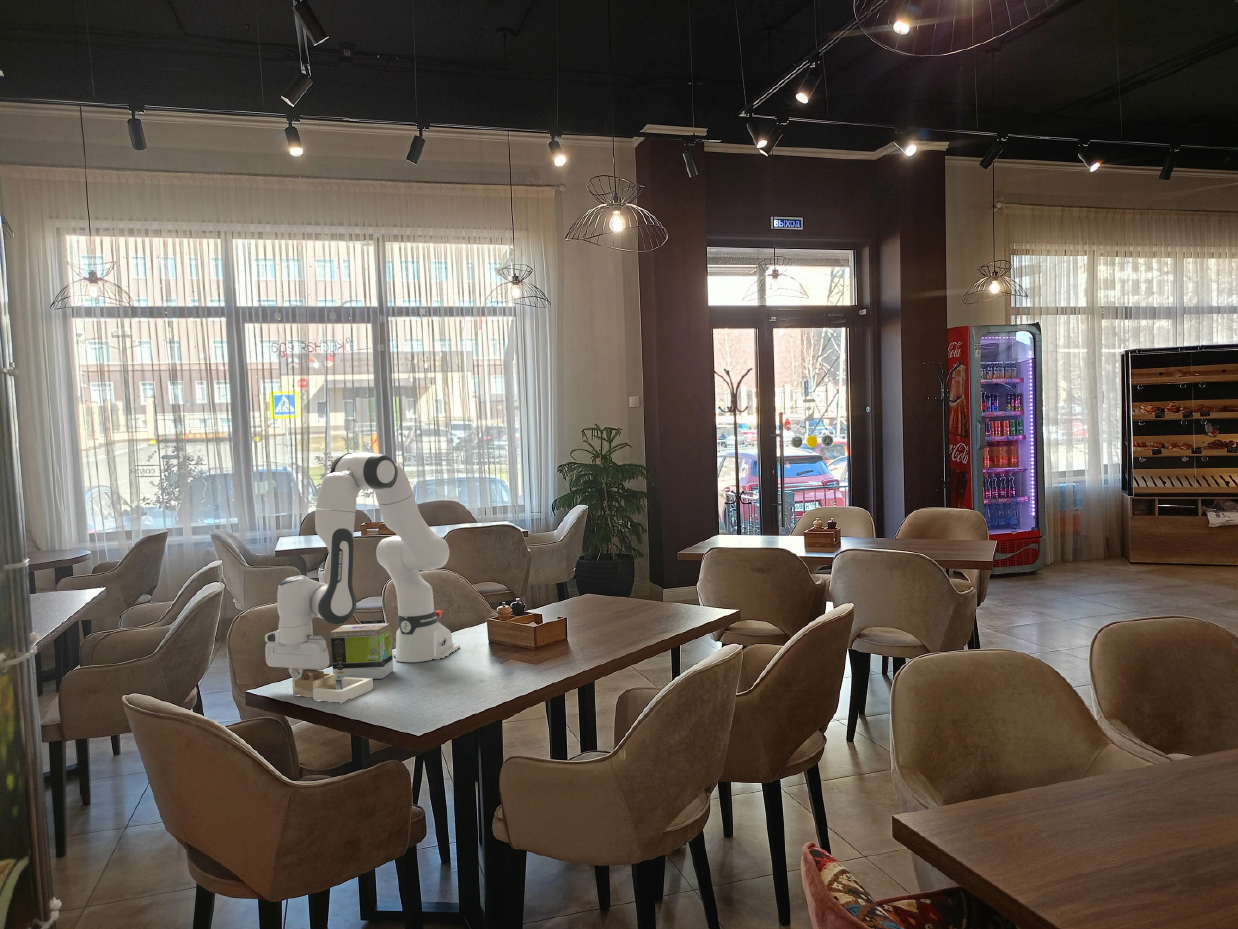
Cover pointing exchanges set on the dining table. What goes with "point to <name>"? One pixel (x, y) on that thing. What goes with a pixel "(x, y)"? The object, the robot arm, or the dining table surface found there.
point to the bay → (345, 690)
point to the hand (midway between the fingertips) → (299, 683)
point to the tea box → (362, 651)
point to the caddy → (313, 682)
